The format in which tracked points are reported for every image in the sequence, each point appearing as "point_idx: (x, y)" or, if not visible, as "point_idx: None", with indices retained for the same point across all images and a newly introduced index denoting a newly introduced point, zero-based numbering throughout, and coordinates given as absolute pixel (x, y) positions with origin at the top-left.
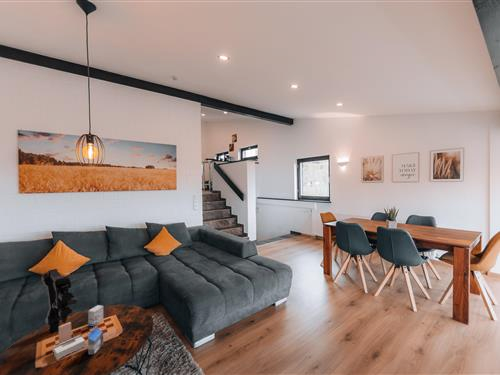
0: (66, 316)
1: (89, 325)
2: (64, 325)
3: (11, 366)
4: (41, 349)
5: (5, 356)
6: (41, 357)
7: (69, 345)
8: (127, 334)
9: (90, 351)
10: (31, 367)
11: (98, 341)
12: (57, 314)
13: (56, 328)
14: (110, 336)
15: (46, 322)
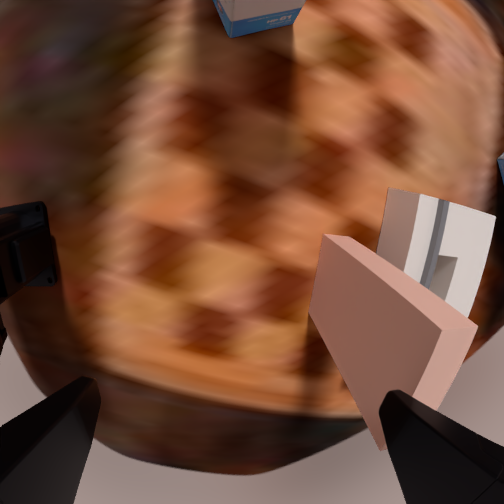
0: (495, 465)
1: (248, 27)
2: (438, 401)
3: (251, 465)
4: (225, 383)
5: (136, 458)
6: (317, 397)
7: (454, 306)
8: None
9: None
10: (350, 427)
11: None
12: (76, 486)
13: (40, 254)
14: (486, 74)
15: None
